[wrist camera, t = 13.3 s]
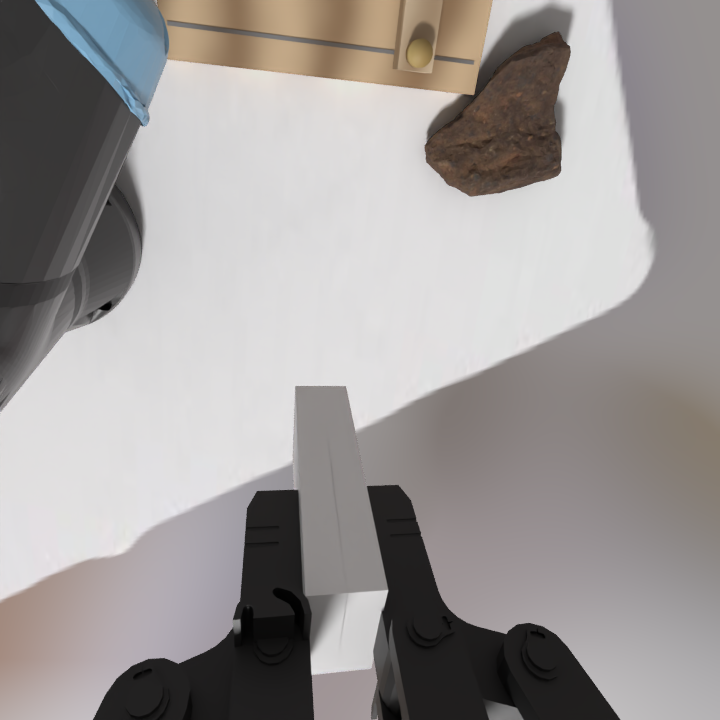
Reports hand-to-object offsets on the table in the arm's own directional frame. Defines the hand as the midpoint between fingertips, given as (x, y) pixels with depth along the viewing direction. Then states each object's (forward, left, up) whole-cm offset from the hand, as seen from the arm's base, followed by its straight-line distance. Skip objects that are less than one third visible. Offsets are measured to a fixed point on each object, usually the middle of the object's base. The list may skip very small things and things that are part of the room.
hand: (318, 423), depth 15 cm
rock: (+16, +6, -30) cm, 35 cm away
